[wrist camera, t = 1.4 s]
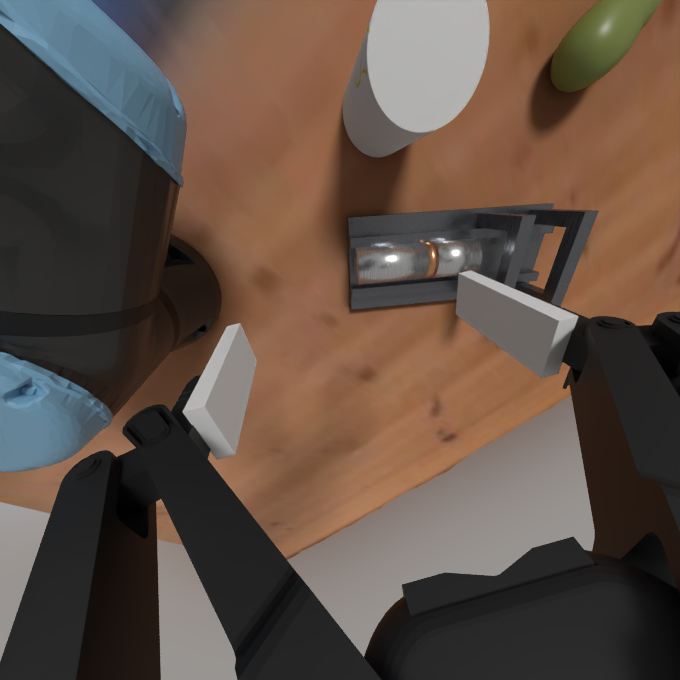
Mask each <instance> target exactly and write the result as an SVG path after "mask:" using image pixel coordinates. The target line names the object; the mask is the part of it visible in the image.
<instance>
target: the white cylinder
mask: <svg viewBox="0 0 680 680" xmlns="http://www.w3.org/2000/svg"><path fill="white" fill-rule="evenodd" d="M488 45H489V15H488V8H487V3H486V0H378V1H377V3H376V6H375V9H374V11H373V14H372V17H371V20H370V22H369V25H368V28H367V31H366V34H365V36H364V39H363V42H362V45H361V47H360V50H359V53H358V56H357V58H356V61H355V64H354V67H353V70H352V72H351V75H350V78H349V81H348V83H347V86H346V89H345V93H344V98H343V110H342V111H343V121H344V126H345V129H346V132H347V134H348V136H349V138H350V140H351V142H352V143H353V144H354V146H355V147H356V148H357V149H358V150H359V151H361V152H362V153H364V154H366V155H368V156H371V157H385V156H388V155H391V154H393V153H394V152H396V151H398V150H400V149H402V148H404V147H406V146H407V145H409V144H411V143H413V142H415V141H417V140H418V139H420V138H422V137H424V136H426V135H428V134H429V133H431V132H433V131H435V130H437V129H439V128H441V127H442V126H444V125H446V124H447V123H449V122H450V121H451V120H452V119H454V118H455V117H456V116H457V115H458V114H459V113H460V112H461V111H462V109H463V108H464V107H465V106H466V104H467V103H468V101H469V100H470V98H471V97H472V95H473V93H474V91H475V89H476V87H477V85H478V83H479V81H480V78H481V75H482V72H483V69H484V66H485V62H486V57H487V52H488Z"/></svg>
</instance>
